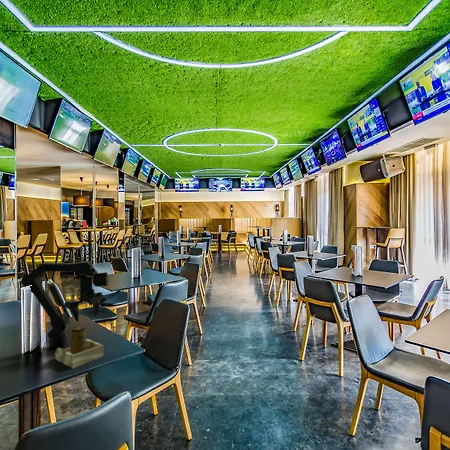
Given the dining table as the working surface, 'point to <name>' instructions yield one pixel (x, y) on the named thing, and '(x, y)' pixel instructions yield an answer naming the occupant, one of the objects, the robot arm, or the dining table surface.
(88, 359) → the tan square tray
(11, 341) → the dining table surface
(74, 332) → the condiment
